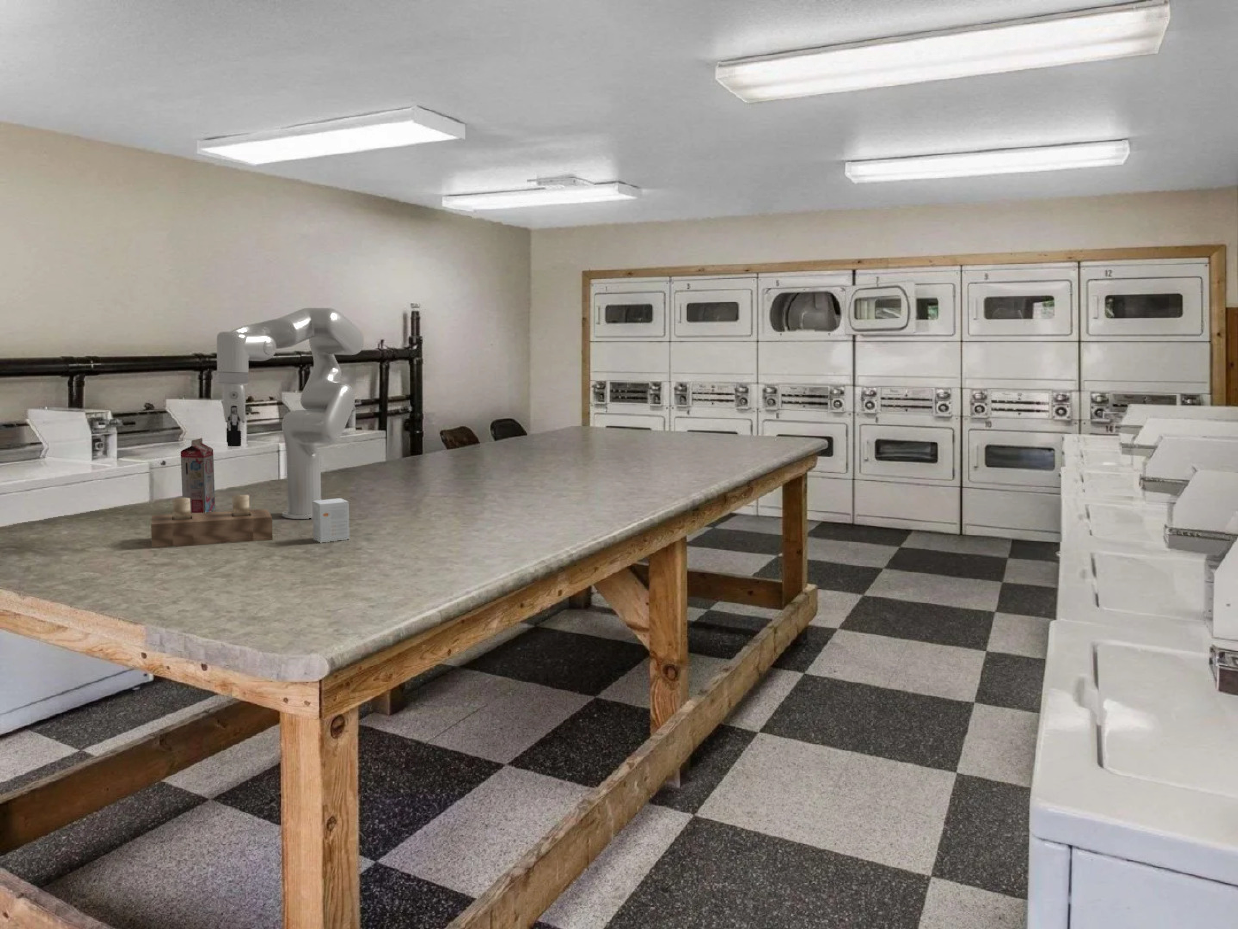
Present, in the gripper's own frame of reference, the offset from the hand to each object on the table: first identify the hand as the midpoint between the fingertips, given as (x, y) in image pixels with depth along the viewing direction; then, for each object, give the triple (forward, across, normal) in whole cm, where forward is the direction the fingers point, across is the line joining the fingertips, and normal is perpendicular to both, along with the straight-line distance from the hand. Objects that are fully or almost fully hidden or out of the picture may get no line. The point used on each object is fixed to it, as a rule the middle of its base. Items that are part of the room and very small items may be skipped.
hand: (233, 444), depth 229 cm
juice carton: (+24, +38, +9) cm, 46 cm away
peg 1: (+19, -3, +12) cm, 23 cm away
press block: (+25, -2, +5) cm, 25 cm away
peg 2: (+19, -2, -2) cm, 19 cm away
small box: (+24, -12, -23) cm, 36 cm away
